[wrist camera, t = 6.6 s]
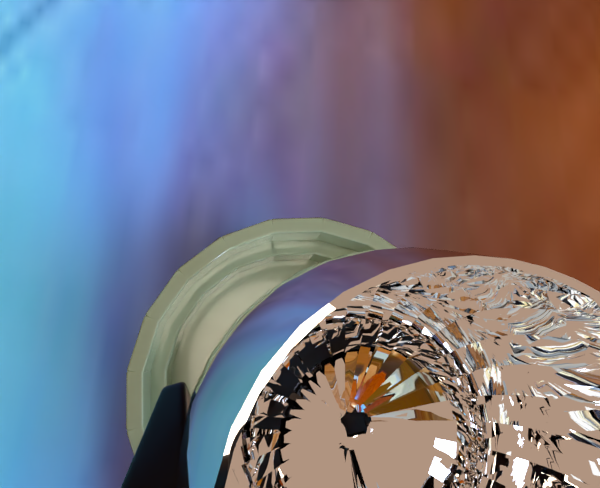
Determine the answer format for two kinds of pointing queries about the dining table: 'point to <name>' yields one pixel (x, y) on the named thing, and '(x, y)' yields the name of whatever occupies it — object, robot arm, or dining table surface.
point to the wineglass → (403, 379)
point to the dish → (223, 300)
